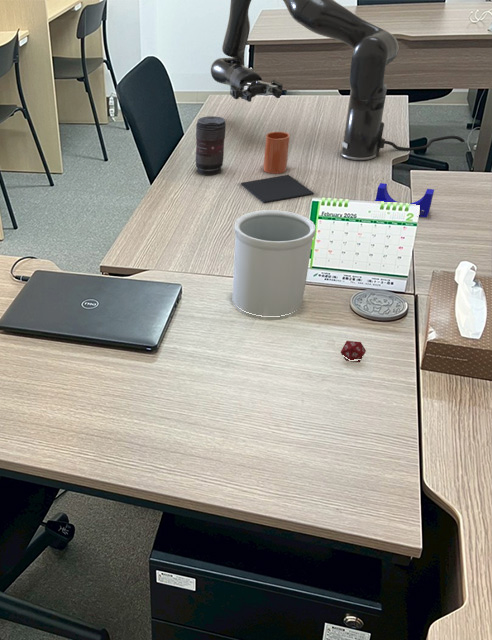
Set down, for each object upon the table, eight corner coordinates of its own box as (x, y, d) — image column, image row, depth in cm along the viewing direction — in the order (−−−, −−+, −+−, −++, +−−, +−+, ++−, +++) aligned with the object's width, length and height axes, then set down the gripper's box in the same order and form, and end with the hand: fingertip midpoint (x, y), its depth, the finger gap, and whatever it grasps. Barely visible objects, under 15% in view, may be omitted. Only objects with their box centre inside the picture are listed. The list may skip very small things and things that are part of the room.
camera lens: (225, 174, 202) (228, 123, 194) (197, 177, 203) (198, 125, 194) (220, 164, 209) (223, 114, 201) (193, 167, 209) (194, 116, 201)
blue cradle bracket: (372, 212, 174) (376, 189, 171) (376, 205, 177) (380, 183, 174) (425, 220, 168) (431, 196, 165) (429, 212, 171) (434, 189, 168)
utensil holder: (254, 277, 153) (261, 202, 144) (318, 298, 144) (330, 220, 134) (215, 306, 145) (219, 229, 136) (280, 330, 136) (289, 249, 126)
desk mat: (288, 176, 197) (288, 174, 197) (313, 194, 186) (313, 192, 186) (241, 184, 196) (241, 182, 195) (263, 203, 184) (264, 201, 184)
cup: (279, 164, 205) (283, 130, 200) (290, 171, 200) (294, 137, 194) (259, 167, 204) (262, 133, 199) (269, 175, 199) (272, 140, 194)
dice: (335, 355, 128) (338, 337, 126) (360, 353, 128) (364, 335, 126) (342, 367, 125) (345, 349, 123) (368, 366, 125) (371, 347, 122)
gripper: (223, 72, 212) (241, 86, 199) (269, 66, 213) (290, 79, 200) (221, 97, 217) (239, 112, 203) (266, 91, 217) (287, 106, 204)
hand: (264, 96), depth 201 cm, fingers open, 8 cm apart
